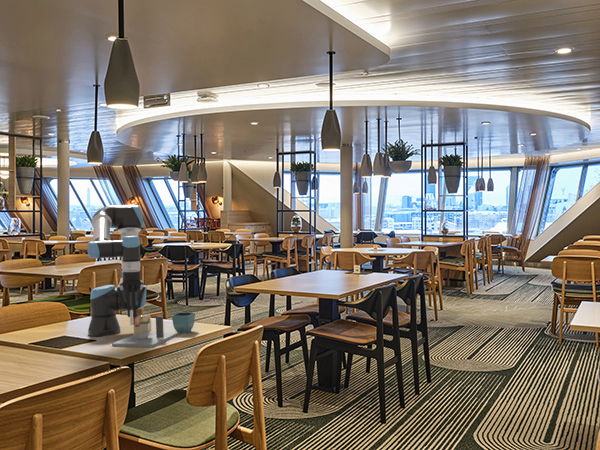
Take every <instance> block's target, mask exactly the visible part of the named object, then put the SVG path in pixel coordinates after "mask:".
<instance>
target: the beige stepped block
mask: <svg viewBox="0 0 600 450" xmlns="http://www.w3.org/2000/svg"><path fill="white" fill-rule="evenodd" d="M151 331H152V319H151V314H137V316H136V317H134V325H133V335H134V334H148V333H151Z"/></svg>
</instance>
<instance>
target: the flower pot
mask: <svg viewBox="0 0 600 450" xmlns="http://www.w3.org/2000/svg"><path fill="white" fill-rule="evenodd" d="M195 317H196V313H195V312H184V311H183V312H182V311H181V312H177V313H175V314H172V315H171V319H172V325H173V326H172V327H173V328H174V330H175V332H176V334H177V333H178V334H188V333H189V332H191V331H192V329H193V327H194V325H195V321H196V320H195Z"/></svg>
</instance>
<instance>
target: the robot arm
mask: <svg viewBox="0 0 600 450" xmlns="http://www.w3.org/2000/svg"><path fill="white" fill-rule="evenodd" d="M141 208H142V207H141V206H140V205H138V204H121V205H105V206H103V207H102V208H101V207H100V209H98V210H97V211H96V212H94V214H93V216H92V218H91V227H92V229H93V232H92V241H88V243H87V257H88V258H90V259H101V258H103V259H105V258H121V272H122V275H121V276H122V280H121V282H119V286H117V287H116V286H115V284H108V285H101V286H98V287H95V288H92V289H91V291H90V298H89V300H90V313H91V315H90V323H89V326H88V328H87V335H88V336H90V337H107V336H113V335H117V334H119V333H120V332H121V325H120V323H119V321H118V317H117V312H119V311H123V312H124V311H127V317H128V318H129V326H134V317H136V316H137V315H138V310H142V309H144V308H145V306H146V300H147V289H148V286H147V285H145V284H144V281H143V280H141V275H142V274H141V241H140V240H141V239H140V236H139V233H140V232H141V231H142V228H143V227H144V217H143V212H142V211H143V210H142V209H141ZM111 229H117V232H118V233H119V234H120V240H111V237H110V236H111Z"/></svg>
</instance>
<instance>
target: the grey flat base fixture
mask: <svg viewBox="0 0 600 450" xmlns="http://www.w3.org/2000/svg"><path fill="white" fill-rule="evenodd" d="M176 336H177V333H165V332H164V316H163V315H155V332H149V333H148V334H134V333H133V334H132V335H129V336H127V337H124V338H122V339H120V340H117V341H115V342H112V345H111V346H112V347H125V348H126V347H129V348H133V347H134V348H155V347H156V345H157V346H159V345H161V344H163V343H165V342H167V341H169V340H171V339H174V338H175V337H176ZM154 346H155V347H154Z"/></svg>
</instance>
